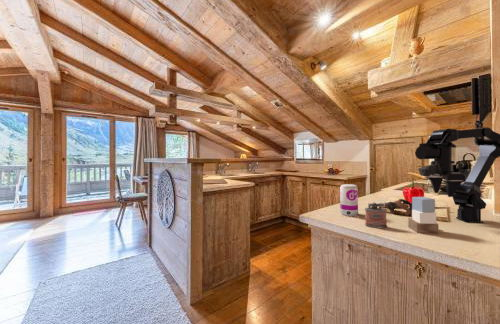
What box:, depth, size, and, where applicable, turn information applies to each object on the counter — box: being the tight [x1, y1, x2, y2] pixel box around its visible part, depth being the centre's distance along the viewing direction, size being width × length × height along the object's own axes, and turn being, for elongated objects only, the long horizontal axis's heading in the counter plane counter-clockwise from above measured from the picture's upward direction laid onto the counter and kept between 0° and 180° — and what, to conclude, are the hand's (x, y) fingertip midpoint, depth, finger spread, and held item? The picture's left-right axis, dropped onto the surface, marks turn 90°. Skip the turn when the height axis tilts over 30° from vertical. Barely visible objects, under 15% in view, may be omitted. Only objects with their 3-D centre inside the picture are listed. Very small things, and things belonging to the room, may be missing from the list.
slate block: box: [411, 196, 436, 213], centre depth 87 cm, size 5×5×5 cm
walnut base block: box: [407, 217, 439, 235], centre depth 87 cm, size 7×7×4 cm
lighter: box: [364, 201, 388, 229], centre depth 93 cm, size 8×3×10 cm, turn 70°
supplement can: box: [339, 183, 359, 217], centre depth 112 cm, size 8×8×15 cm
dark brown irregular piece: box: [386, 198, 412, 216], centre depth 110 cm, size 12×10×8 cm
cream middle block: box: [411, 209, 437, 224], centre depth 86 cm, size 6×6×4 cm
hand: (442, 194), depth 95 cm, fingers open, 9 cm apart
